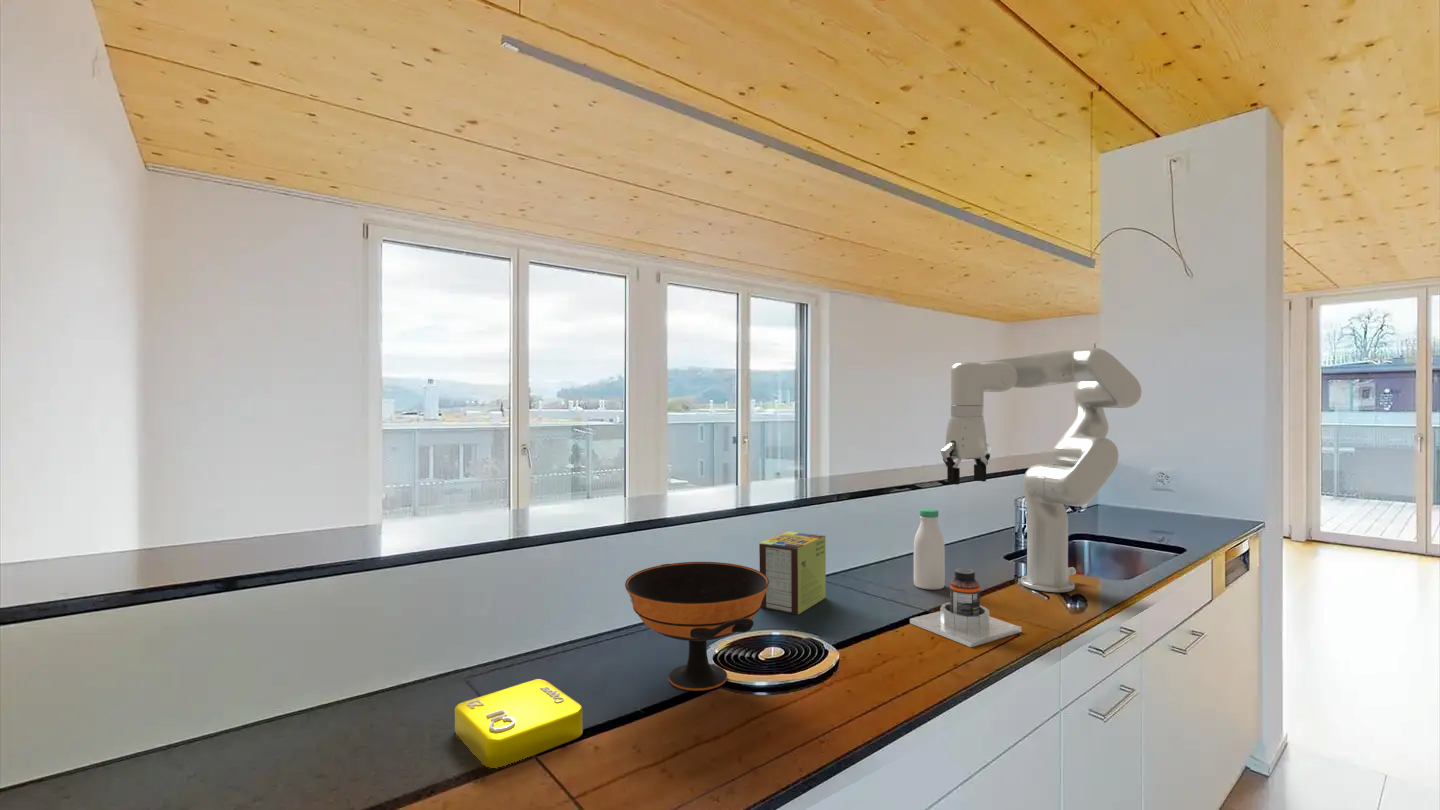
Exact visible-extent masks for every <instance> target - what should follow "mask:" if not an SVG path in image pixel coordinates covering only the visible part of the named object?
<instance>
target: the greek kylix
mask: <svg viewBox="0 0 1440 810" xmlns="http://www.w3.org/2000/svg"><path fill="white" fill-rule="evenodd" d="M624 583H625V584H624V587H625V590H626V592H627V595H628V597H629V600H630V602H631V604H632V608H633V611H634V613H635V614H637V615H638V617H639V618H640V620H641V621H642V623H644V624H645V625H646V626H647V627H648V628H649V629H651V630H652V631H654V632H656V633H658V634H660V635H662V636H665V637H666V638H671V639H675V640H680V641H688V657H687V663H686V664H682V665H680V666H678V667H675V668H674V669H672V670H671V671H670V672H669V673H668V682H669V683H670V684H671V685H673V686H674V687H676V688H678V689H681V690H687V691H692V692H693V691H695V692H696V691H708V690H712V689H716V688H718V687H720V686H722V685H723V684H725V683H726V681H727V680H728V673H727V671H726V670H725V669H724V668H722V667H720V666H719V665H715V664H711V663H709V659H708V658H709V657H708V652H707V649H708V648H707V644H708V643H707V641H713V640H719V639H722V638H726V637H727V636H730V635H733V634H735V633H746V632H749V631H750V630H752V628H753V626H754V624H755V623H754V620H753V619H754V617H755V616H756V615H757V613H758V612H759V611H760V609H761V605H762V600H763V598H764V595H765V593H766V591H767V588H768V586H769V580H768V578H767V576H766V575H764V574H763V573H761V572H760V570H757V569H754V568H753V567H748V566H745V565H741V564H734V563H729V562H728V563H726V562H715V561H686V562H685V561H684V562H674V563H663V564H660V565H656V566H651V567H648V568H645V569H642V570H639V571H637V572H634V573H633V574H631V575H630V576H628V577H627V579H626V581H625V582H624ZM726 679H727V680H726Z"/></svg>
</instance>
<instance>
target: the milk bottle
mask: <svg viewBox="0 0 1440 810" xmlns="http://www.w3.org/2000/svg"><path fill="white" fill-rule="evenodd" d="M919 519H920V523H919V526H918V529H917V530H916V532H915V535H914V540H913V584H914V586H915V587H916V588H920V589H922V590H930V591H931V590H933V591H934V590H935V591H936V590H942V589H943V588H944V587H945V585H946V584H945V583H946V582H945V581H946V579H945V577H946V574H945V573H946V571H945V570H946V566H945V564H946V563H945V562H946V559H945V558H946V557H945V556H946V555H945V554H946V553H945V547H946V546H945V539H944V536H943V533H942V531H941V529H940V527H939V526H940V525H939V523H938V519H939V510H938V509H936V508H920V510H919Z"/></svg>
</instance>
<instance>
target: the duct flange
mask: <svg viewBox="0 0 1440 810" xmlns="http://www.w3.org/2000/svg"><path fill="white" fill-rule="evenodd" d="M909 624H911V625H914V626H916V627H918V628H921V629H923V630H926V631H927V632H928V631H929V632H930V633H934V634H936V635H939V636H941V637H944V638H947V639H949V640H951V641H954V642H956V643H959V644H961V645H964V646H967V647H969V648H973V647H976V646H980V645H983V644H987V643H991V642H993V641H996V640H1000V639H1003V638H1005V637H1009V636H1013V635H1016V634H1019V633H1022V626H1019V625H1016V624H1014V623H1010V622H1008V621H1004V620H1002V619H998V618H996V617H993V616H990V610H989V609H988V608H986V607H985V606H983V605H980V615H961V614H955V613H952V612H950V601H949V602H946V603H942V604H941V606H940V610H939V611H935V612H931V613H928V614H923V615H920V616H914V617H911V618H909Z"/></svg>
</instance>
